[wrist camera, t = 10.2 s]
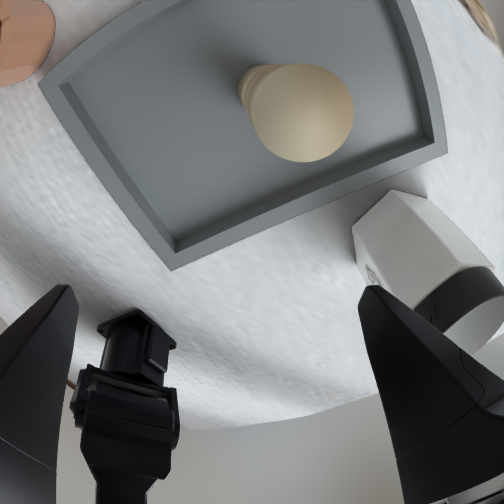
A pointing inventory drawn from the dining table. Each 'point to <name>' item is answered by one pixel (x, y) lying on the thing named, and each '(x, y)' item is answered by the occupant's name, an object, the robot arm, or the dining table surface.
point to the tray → (239, 112)
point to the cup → (24, 38)
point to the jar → (430, 268)
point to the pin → (297, 109)
